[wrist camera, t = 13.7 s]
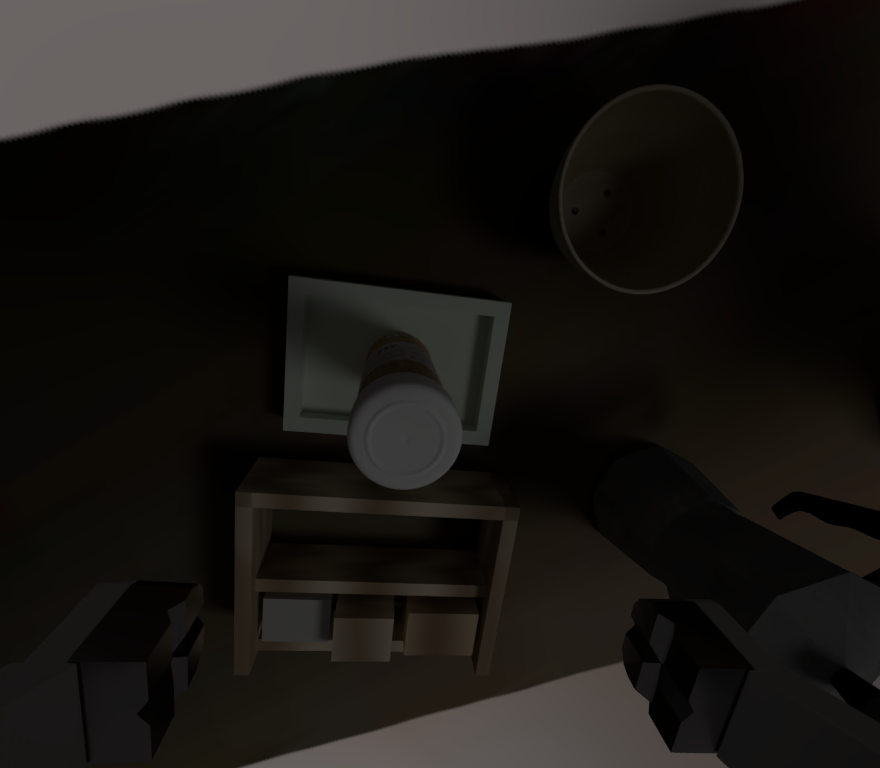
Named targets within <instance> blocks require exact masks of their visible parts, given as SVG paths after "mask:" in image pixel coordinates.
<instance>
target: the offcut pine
mask: <svg viewBox="0 0 880 768" xmlns="http://www.w3.org/2000/svg"><path fill="white" fill-rule="evenodd" d="M393 625H394V595H371V594H338V598H337V604H336V610H335V616H334V628H333V643H332V658H331V661H390V653H391V644H392V634H393Z"/></svg>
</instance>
